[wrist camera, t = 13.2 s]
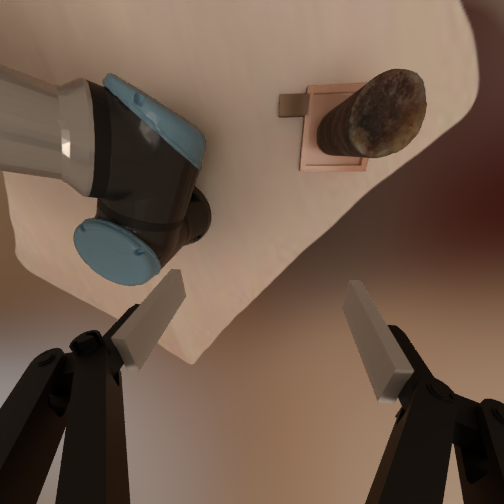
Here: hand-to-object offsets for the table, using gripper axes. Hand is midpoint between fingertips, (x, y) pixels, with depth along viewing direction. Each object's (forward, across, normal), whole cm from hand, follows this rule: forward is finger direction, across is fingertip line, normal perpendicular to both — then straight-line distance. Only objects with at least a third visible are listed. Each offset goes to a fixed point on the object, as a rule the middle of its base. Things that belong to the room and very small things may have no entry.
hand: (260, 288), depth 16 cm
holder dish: (+32, +11, +12) cm, 36 cm away
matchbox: (+32, +3, +16) cm, 36 cm away
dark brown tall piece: (+31, +11, +12) cm, 35 cm away
